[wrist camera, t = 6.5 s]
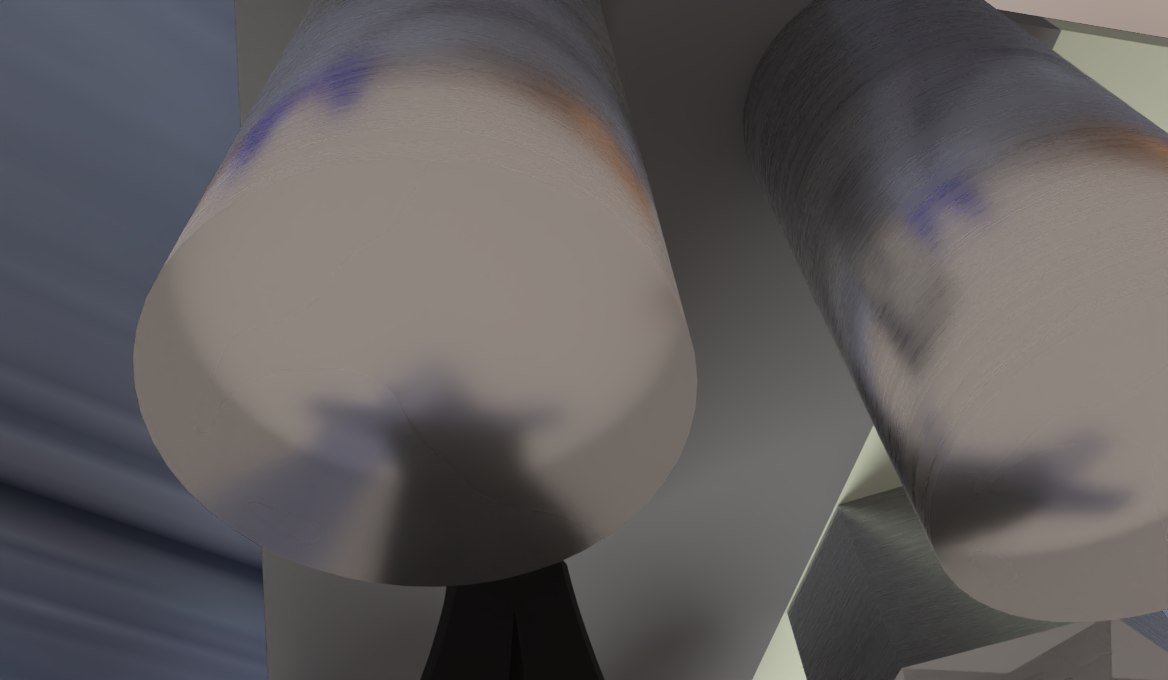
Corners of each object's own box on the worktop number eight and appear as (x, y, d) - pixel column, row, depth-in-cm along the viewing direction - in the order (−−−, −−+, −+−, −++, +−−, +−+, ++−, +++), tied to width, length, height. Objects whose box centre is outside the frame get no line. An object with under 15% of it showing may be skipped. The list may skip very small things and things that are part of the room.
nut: (1105, 604, 14) (1206, 765, 12) (813, 681, 15) (862, 846, 13) (1100, 428, 12) (1225, 590, 10) (754, 529, 13) (803, 700, 11)
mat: (900, 802, 18) (907, 822, 18) (279, 789, 16) (274, 811, 16) (1429, 82, 10) (1460, 96, 9) (240, -118, 8) (228, -108, 7)
